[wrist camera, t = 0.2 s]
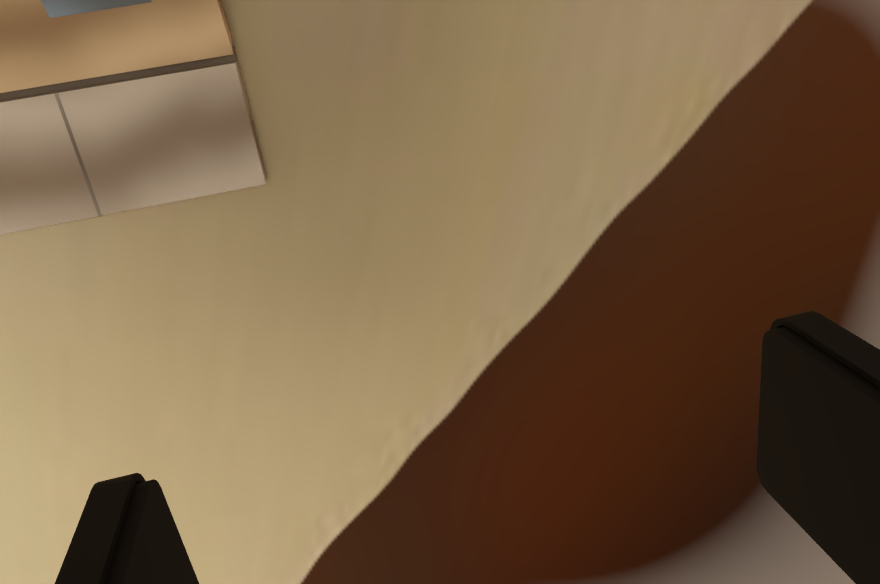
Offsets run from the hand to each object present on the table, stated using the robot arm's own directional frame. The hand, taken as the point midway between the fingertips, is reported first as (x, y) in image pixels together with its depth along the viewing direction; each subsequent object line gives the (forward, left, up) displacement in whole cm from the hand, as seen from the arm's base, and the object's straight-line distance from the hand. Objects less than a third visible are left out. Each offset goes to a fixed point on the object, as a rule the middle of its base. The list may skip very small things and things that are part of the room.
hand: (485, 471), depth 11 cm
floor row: (-1, -16, -31) cm, 35 cm away
